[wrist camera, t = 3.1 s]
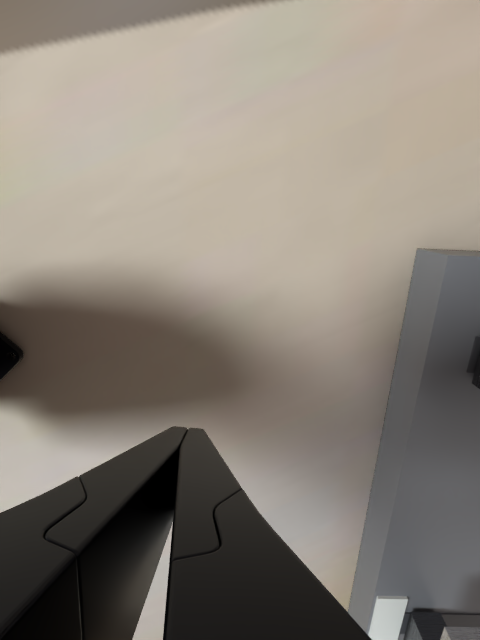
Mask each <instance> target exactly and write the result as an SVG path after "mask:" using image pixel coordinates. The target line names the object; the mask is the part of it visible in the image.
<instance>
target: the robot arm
mask: <svg viewBox="0 0 480 640" xmlns="http://www.w3.org/2000/svg"><path fill="white" fill-rule="evenodd" d="M11 352H12V353H14V355H15V357H13V356H12V355H11ZM22 358H23V351H22V350H21V349H20V348H19V347H18V346H17V345H15V344H14V343H13V342H12V341H11V340H9V339H8V338H7V337H6V336H5V335H3V334H2V333H1V332H0V381H1V380H2V379H3V378H4V377H5V376H6V375H7V374H8V373H9V372H10V371H11V370H12V369H13V368H14V367H15V366H16V365H17V364H18V363H19V362H20V361H21V360H22ZM172 522H173V528H172V540H171V552H170V564H169V575H168V587H167V599H166V611H165V623H164V634H163V640H372V639H371V638H370V637H369V636H368V635H367V633H366V632H365V631H364V630H363V629H362V628H361V627H360V626H359V624H358V623H357V622H356V621H355V620H354V619H353V618H352V617H351V616H350V614H349V613H348V612H347V611H346V610H345V609H344V608H343V607H342V606H341V604H340V603H339V602H338V601H337V600H336V599H335V598H334V597H333V595H332V594H331V593H330V592H329V591H328V590H327V589H326V588H325V587H324V585H323V584H322V583H321V582H320V581H319V580H318V579H317V578H316V577H315V575H314V574H313V573H312V572H311V571H310V570H309V569H308V568H307V566H306V565H305V564H304V563H303V562H302V561H301V560H300V559H299V558H298V556H297V555H296V554H295V553H294V552H293V551H292V550H291V549H290V548H289V546H288V545H287V544H286V543H285V542H284V541H283V540H282V539H281V537H280V536H279V535H278V534H277V533H276V532H275V531H274V530H273V529H272V527H271V526H270V525H269V524H268V523H267V521H266V520H265V519H264V518H263V517H262V515H261V514H260V513H259V512H258V510H257V509H256V507H255V506H254V505H253V503H252V502H251V500H250V499H249V498H248V496H247V494H246V493H245V491H244V490H243V489H242V488H241V486H240V485H239V483H238V482H237V480H236V478H235V477H234V475H233V474H232V472H231V471H230V469H229V468H228V466H227V465H226V463H225V462H224V460H223V458H222V457H221V455H220V454H219V452H218V451H217V449H216V448H215V446H214V445H213V443H212V442H211V440H210V438H209V437H208V435H207V434H206V432H205V431H204V430H203V429H198V428H189V429H187V428H185V427H171V428H169V429H167V430H165V431H164V432H162V433H160V434H158V435H156V436H154V437H152V438H150V439H148V440H146V441H145V442H143V443H141V444H139V445H137V446H135V447H133V448H131V449H129V450H128V451H126V452H124V453H122V454H120V455H118V456H116V457H114V458H112V459H110V460H109V461H107V462H105V463H103V464H101V465H99V466H97V467H95V468H93V469H91V470H90V471H88V472H86V473H84V474H82V475H80V476H79V477H75V478H73V479H71V480H69V481H67V482H66V483H64V484H62V485H60V486H58V487H56V488H54V489H52V490H50V491H48V492H46V493H44V494H42V495H40V496H37V497H35V498H33V499H31V500H29V501H26V502H24V503H22V504H20V505H17V506H15V507H13V508H11V509H8V510H6V511H4V512H2V513H0V640H132V638H133V635H134V632H135V629H136V627H137V624H138V621H139V618H140V615H141V612H142V609H143V606H144V603H145V601H146V598H147V595H148V592H149V589H150V586H151V583H152V580H153V577H154V574H155V572H156V569H157V566H158V563H159V560H160V557H161V554H162V551H163V548H164V545H165V543H166V540H167V537H168V534H169V531H170V528H171V525H172Z"/></svg>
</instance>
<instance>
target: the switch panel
mask: <svg viewBox="0 0 480 640" xmlns="http://www.w3.org/2000/svg"><path fill="white" fill-rule="evenodd" d="M479 354H480V251H461V250H437V249H417V252H416V257H415V263H414V268H413V273H412V278H411V284H410V289H409V294H408V299H407V305H406V310H405V315H404V320H403V326H402V331H401V336H400V341H399V347H398V352H397V357H396V362H395V368H394V373H393V378H392V383H391V389H390V394H389V399H388V404H387V410H386V415H385V420H384V425H383V430H382V436H381V441H380V446H379V451H378V457H377V462H376V467H375V472H374V478H373V483H372V488H371V493H370V499H369V504H368V509H367V514H366V520H365V525H364V530H363V535H362V541H361V546H360V551H359V556H358V562H357V567H356V572H355V577H354V583H353V588H352V593H351V598H350V604H349V609H348V613H349V614H350V616H351V617H352V618H353V619H354V620H355V621H356V622H357V623H358V624H359V626H360V627H361V628H362V629H363V630H364V631H365V632H366V633H367V635H368V636H369V637H370V638H371V639H372V640H403V638H404V635H405V631H406V627H407V623H408V620H409V616H410V612H439V613H441V615H442V617H443V619H444V621H445V623H446V625H447V627H480V389H479V388H477V387H476V386H475V385H473V384H472V380H473V376H474V372H475V369H476V365H477V361H478V357H479Z"/></svg>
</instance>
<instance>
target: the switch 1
mask: <svg viewBox="0 0 480 640" xmlns="http://www.w3.org/2000/svg"><path fill="white" fill-rule="evenodd" d="M403 640H480V627H447V625H446V623H445V621H444V619H443V617H442V615H441V613H439V612H410V616H409V620H408V623H407V627H406V631H405V635H404V638H403Z"/></svg>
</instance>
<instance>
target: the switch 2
mask: <svg viewBox="0 0 480 640" xmlns="http://www.w3.org/2000/svg"><path fill="white" fill-rule="evenodd" d="M472 384H473V385H475V386H476V387H477V388H479V389H480V354H479V357H478V361H477V365H476V369H475V372H474V376H473V380H472Z"/></svg>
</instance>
